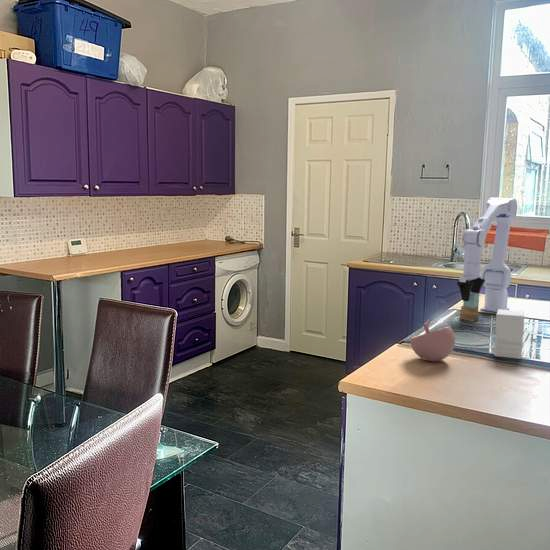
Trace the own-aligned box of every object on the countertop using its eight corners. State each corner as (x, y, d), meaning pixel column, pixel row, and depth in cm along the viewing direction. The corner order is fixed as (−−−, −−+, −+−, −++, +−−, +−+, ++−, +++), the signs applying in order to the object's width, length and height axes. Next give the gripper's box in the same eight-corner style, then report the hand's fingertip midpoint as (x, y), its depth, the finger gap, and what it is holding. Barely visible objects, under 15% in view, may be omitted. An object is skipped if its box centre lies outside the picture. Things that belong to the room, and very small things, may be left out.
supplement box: (521, 352, 166) (525, 310, 164) (521, 359, 159) (524, 316, 157) (495, 349, 169) (497, 308, 167) (493, 356, 162) (496, 313, 160)
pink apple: (423, 351, 166) (425, 313, 165) (461, 360, 158) (463, 320, 156) (401, 360, 158) (402, 320, 156) (439, 370, 150) (442, 328, 148)
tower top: (464, 310, 211) (464, 304, 210) (478, 312, 208) (478, 306, 208) (460, 313, 207) (461, 306, 206) (474, 315, 204) (475, 308, 204)
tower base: (465, 317, 211) (466, 311, 211) (478, 319, 208) (479, 313, 207) (459, 319, 207) (460, 313, 207) (472, 322, 204) (472, 315, 204)
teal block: (468, 304, 209) (468, 291, 209) (478, 306, 207) (479, 293, 206) (463, 306, 207) (464, 293, 206) (473, 308, 204) (474, 294, 203)
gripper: (474, 265, 196) (471, 303, 198) (491, 261, 206) (489, 298, 209) (455, 263, 201) (452, 300, 203) (473, 260, 211) (470, 295, 213)
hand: (470, 299), depth 206 cm, fingers open, 7 cm apart
